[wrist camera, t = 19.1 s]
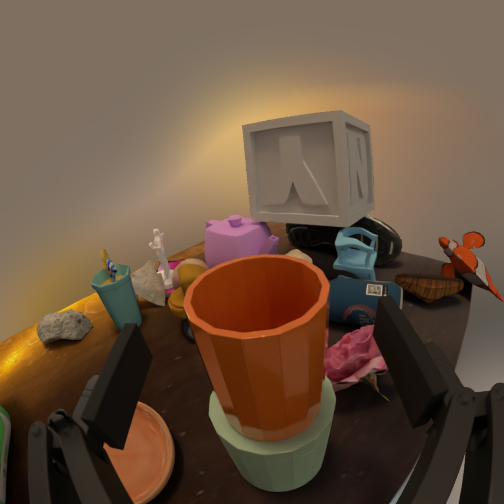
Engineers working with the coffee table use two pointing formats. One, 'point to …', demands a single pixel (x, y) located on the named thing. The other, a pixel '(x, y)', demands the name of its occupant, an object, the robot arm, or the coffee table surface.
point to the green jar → (278, 449)
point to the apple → (193, 261)
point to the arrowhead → (149, 284)
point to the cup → (117, 292)
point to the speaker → (4, 450)
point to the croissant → (429, 285)
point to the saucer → (144, 455)
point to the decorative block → (310, 169)
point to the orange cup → (263, 341)
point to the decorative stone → (63, 326)
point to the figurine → (162, 259)
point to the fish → (467, 261)
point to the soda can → (359, 299)
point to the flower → (355, 360)
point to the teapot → (237, 239)
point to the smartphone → (172, 266)
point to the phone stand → (355, 254)
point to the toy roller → (184, 292)
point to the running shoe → (385, 243)
